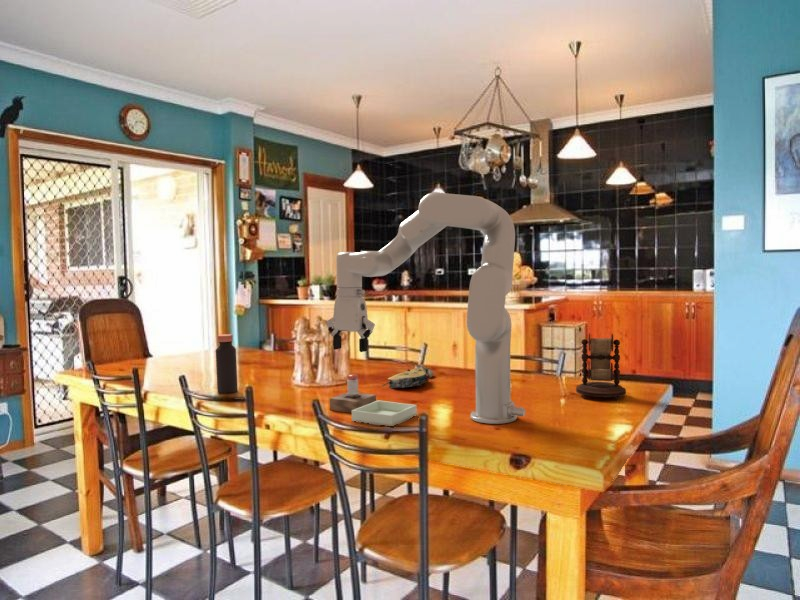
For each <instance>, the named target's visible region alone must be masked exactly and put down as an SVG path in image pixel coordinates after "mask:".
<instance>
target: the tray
mask: <svg viewBox="0 0 800 600" xmlns="http://www.w3.org/2000/svg"><path fill="white" fill-rule="evenodd" d="M351 412H352V413H351V422H354V421H356V422H355V423H361V422H364V423H363V424H367V423H369V424H368V425H374V426H380V425H387V426H393V425H396V424H398V425H400V424H401V423H405V422H406V421H408V420H410V418H411V419H412V417H413V416H415V415H417V416H418V408H417V404H412V403H411V404H410V403H403V402H395V401H386V400H381V399H380V400H379V399H378V400H376V401H375V402H372V403H370V404H367V405H364V406H362V407H359V408H357V409H354V410H351ZM415 417H416V416H415ZM413 418H414V417H413ZM387 426H386V427H387ZM396 426H397V425H396Z"/></svg>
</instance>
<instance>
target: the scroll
mask: <svg viewBox="0 0 800 600" xmlns="http://www.w3.org/2000/svg"><path fill="white" fill-rule="evenodd" d="M610 335H611V336H610V338H604V337H603V338H601V337H600V338H597V337H596V338H594V337H591V333H590V332H589V333H588V339H587V338H586V339H585V338H583V339H582V340H581V345H582V346H581V347H582V350H581V352H582V354H581V360H582V364H581V366H582V369H581V373H582V374H581V375H582V380H581V382H582V383H581V384H579V385H577V386H576V389H575V391H576V393H578V394H580V395H582V396H583V399H584V400H586V399H587V398H588V396H589V397H594V398H595V397H596V398H615V400H616V401H617V402H618V401H619V400H620V398H621V397H623V396H625V395H626V394H627V389H626V388H625V387H624V386H622V385H621V384H620V383H621V381H620V374H621V370H620V364H619V363H620V361H621V355H620V350H619V349H620V344H621V341H620V339H614V334H613V333H611V334H610ZM587 347H588V349H587ZM588 351H589V353H590V354H589V355H588V354H587V353H588ZM612 352H613V355H611V353H612ZM588 360H590V361H589V362H588ZM611 360H613V361H614V366H613V362H611ZM587 362H588V363H587ZM613 367H614V368H613ZM587 377H588V378H587ZM613 379H614V381H613ZM588 380H589V381H588ZM611 381H613V382H611Z"/></svg>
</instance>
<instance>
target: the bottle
mask: <svg viewBox="0 0 800 600" xmlns="http://www.w3.org/2000/svg"><path fill="white" fill-rule="evenodd" d="M233 337H234V336H233V334H231V333H229V334H224V333H223V334H218V335H217V343H218V347H217V348H216V349H215V363H216V385H217V386H216V387H217V388H216V389H217V393H218V394H232V393H236V392H237V391H238V390H239V389H238V373H237V372H238V370H237V369H238V368H237V349H236V347H235V346H234V345H233V340H234V339H233Z"/></svg>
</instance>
